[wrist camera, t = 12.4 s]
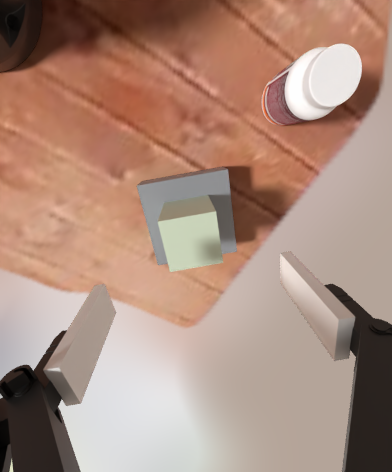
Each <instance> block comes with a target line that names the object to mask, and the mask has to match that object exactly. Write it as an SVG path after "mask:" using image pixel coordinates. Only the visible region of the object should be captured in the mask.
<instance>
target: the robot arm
mask: <svg viewBox="0 0 392 472" xmlns="http://www.w3.org/2000/svg"><path fill="white" fill-rule="evenodd" d="M41 23H42V1H41V0H0V72H3V71H7V70H10V69H12V68H14V67H16V66H18V65H19V64H21V63H22V62H23V61H24V60H25V59H26V58H27V57H28V56H29V55H30V53H31V52H32V50H33V49H34V47H35V45H36V43H37V40H38V37H39V34H40V29H41ZM280 266H281V267H280V269H281V285H282V286H283V288H284V289H285V291H286V292H287V294H288V295H289V297H290V298H291V299H292V301H293V302H294V304H295V305H296V306H297V308H298V309H299V311H300V312H301V314H302V315H303V317H304V318H305V320H306V321H307V323H308V324H309V325H310V327H311V328H312V330H313V331H314V333H315V334H316V335H317V337H318V338H319V340H320V341H321V343H322V344H323V346H324V347H325V349H326V350H327V351H328V353H329V354H330V356H331V357H332V359H333V360H334V361H336V360H342V359H347V358H349V355H350V350H351V351H352V353H353V354H354V355H355V356H356V361H355V367H354V378H353V387H352V394H351V402H350V411H349V419H348V427H347V435H346V443H345V452H344V460H343V468H342V472H392V325H391V324H389V323H388V322H386V321H383V320H380V319H375V318H373V317H372V316H371V315H370V314H368V313H367V312H366V311H365V310H364V309H363V308H362V307H361V306H360V305H359V304H358V303H356V302H355V301H354V300H353V299H352V298H351V297H350V296H348V294H347V293H346V292H344V291H343V290H342V289H341V288H340V287H338V286H336V285H334V284H328V285H323V284H322V283H321V282H320V281H319V280H318V279H317V278H316V277H315V276H314V275H313V274H312V273H311V272H310V271H309V270H308V269H307V268H306V267H305V266H304V264H303V263H302V262H301V261H299V259H298V258H297V257H296V256H294V254H293V253H292V252H291V251H290V252H283V253H280ZM115 314H116V311H115V309H114V306H113V304H112V301H111V299H110V296H109V294H108V291H107V289H106V286H105V284H101V285H95V286H94V287H93V289H92V291H91V292H90V294H89V296H88V297H87V299H86V300H85V302H84V304H83V306H82V307H81V309H80V310H79V312H78V314H77V315H76V317H75V319H74V320H73V322H72V323H71V325H70V327H69V328H68V330H66V331H62V332H61V333H60V334H59V335H58V336H57V337H56V338H55V339H54V340H53V342H52V344H51V345H50V347H49V348H48V349H47V351H46V354H44V355H43V357H42V359H41V360H40V362H39V363H38V365H37V366H36V368H35V369H34V371H33V370H32V368H31V367H30V366H29V365H22V366H19V367H17V368H15V369H13V370H12V371H10V372H9V373H7V374H6V376H4V377H3V378H2V380H1V381H0V394H1V395H2V396H3V398H1V399H0V472H9V470H10V465H11V459H12V462H13V472H80V469H79V466H78V463H77V460H76V457H75V454H74V451H73V448H72V445H71V442H70V438H69V436H68V432H67V430H66V427H65V424H64V420H63V417H62V415H61V412H60V410H59V408H58V405H59V403H60V401H61V399H62V400H63V401H64V403H65V405H66V406H68V405H75V404H80V403H81V402H82V399H83V396H84V394H85V391H86V388H87V386H88V384H89V381H90V378H91V376H92V373H93V371H94V368H95V366H96V363H97V360H98V358H99V355H100V353H101V350H102V347H103V345H104V342H105V340H106V337H107V335H108V332H109V329H110V327H111V324H112V321H113V319H114V316H115Z"/></svg>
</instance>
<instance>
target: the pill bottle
mask: <svg viewBox="0 0 392 472" xmlns="http://www.w3.org/2000/svg"><path fill="white" fill-rule="evenodd" d="M361 73H362V63H361V59H360V56H359V54H358V52H357V51H356V50H355V49H354V48H353V47H352V46H350V45H347V44H336V45H333V46H330V47H319V48H315V49H312V50H310V51H308V52H306V53H305V54H303V55H302V56H301V57H299V58H298V59H297V60H295V61H294V62H293V63H291V64H290V65H289V66H287V67H286V68H285V69H283V70H282V71H281V72H279V73H278V74H277V75H275V76H274V77H273V78H272V79H271V80H270V81H269V83H268V84H267V86H266V87H265V89H264V92H263V96H262V110H263V113H264V115H265V117H266V118H267V120H268V121H270V122H271V123H272V124H275V125H278V126H286V125H291V124H295V123H300V122H305V121H310V120H315V119H319V118H321V117H323V116H325V115H327V114H329V113H330V112H331V111H332V110H333V109H334V108H335V107H336V106H338V105H340V104H342V103H343V102H345V101H346V100H347V99H349V98H350V96H351V95H352V94H353V93H354V91H355V90H356V88H357V86H358V84H359V81H360V78H361Z"/></svg>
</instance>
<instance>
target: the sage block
mask: <svg viewBox="0 0 392 472" xmlns="http://www.w3.org/2000/svg"><path fill="white" fill-rule="evenodd" d="M158 225H159V229H160V233H161V237H162V241H163V246H164V250H165V254H166V258H167V262H168V266H169V270H170V272H173V271H178V270H184V269H190V268H196V267H201V266H207V265H213V264H218V263H223V258H222V251H221V244H220V236H219V229H218V222H217V215H216V210H215V208H214V206H213V204H212V202H211V200H210V198H209V196H208V195H204V196H199V197H193V198H188V199H182V200H176V201H171V202H165V203H164V204H163V207H162V210H161V213H160V216H159V219H158Z"/></svg>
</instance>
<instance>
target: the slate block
mask: <svg viewBox="0 0 392 472" xmlns="http://www.w3.org/2000/svg"><path fill="white" fill-rule="evenodd" d="M137 189H138V192H139V196H140V200H141V204H142V207H143V211H144V215H145V218H146V222H147V226H148V229H149V233H150V237H151V241H152V244H153V248H154V252H155V255H156V259H157V263H158V265H162V264H168V262H167V258H166V254H165V250H164V246H163V241H162V237H161V233H160V229H159V225H158V219H159V216H160V213H161V210H162V207H163V204H164V203H165V202H171V201H176V200H182V199H188V198H193V197H199V196H204V195H208V196H209V198H210V200H211V202H212V204H213V206H214V208H215V210H216V215H217V222H218V229H219V236H220V244H221V251H222V254H225V253H231V252H237V248H236V238H235V229H234V220H233V211H232V202H231V193H230V184H229V174H228V169H226V168H225V167H218V168H212V169H207V170H201V171H196V172H190V173H184V174H179V175H173V176H168V177H162V178H157V179H151V180H146V181H142V182H141V183H139V184H138V185H137Z"/></svg>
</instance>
